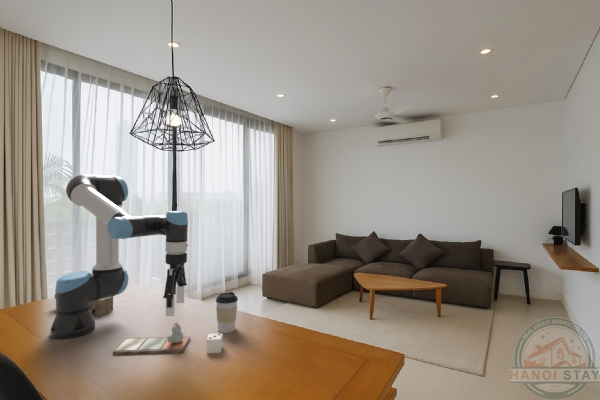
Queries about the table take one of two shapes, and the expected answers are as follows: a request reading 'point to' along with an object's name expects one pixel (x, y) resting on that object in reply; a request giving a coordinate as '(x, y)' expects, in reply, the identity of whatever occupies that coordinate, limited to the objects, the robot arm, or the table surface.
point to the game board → (150, 346)
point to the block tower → (101, 306)
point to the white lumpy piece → (175, 334)
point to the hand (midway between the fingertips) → (175, 309)
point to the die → (214, 343)
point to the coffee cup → (226, 312)
